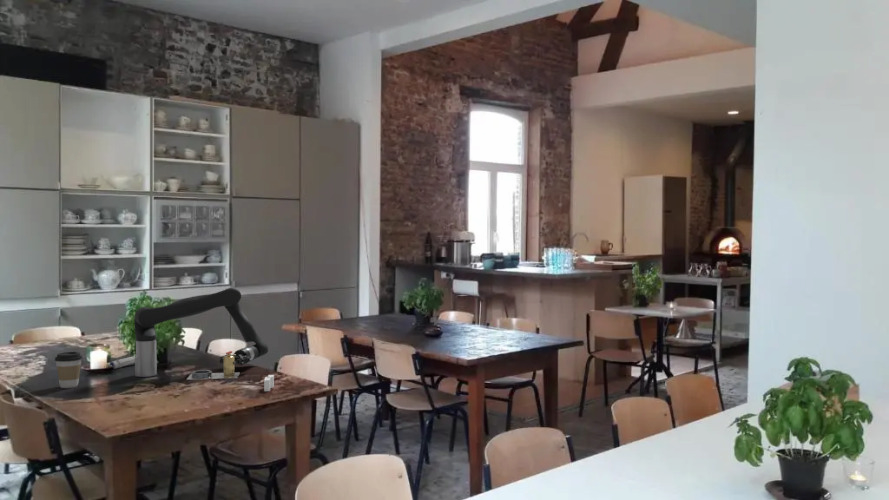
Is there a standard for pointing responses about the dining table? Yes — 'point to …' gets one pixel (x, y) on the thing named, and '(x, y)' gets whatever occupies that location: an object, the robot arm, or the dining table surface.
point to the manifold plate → (217, 376)
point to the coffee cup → (68, 368)
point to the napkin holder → (268, 382)
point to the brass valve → (229, 365)
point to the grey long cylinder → (122, 362)
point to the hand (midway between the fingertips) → (229, 361)
